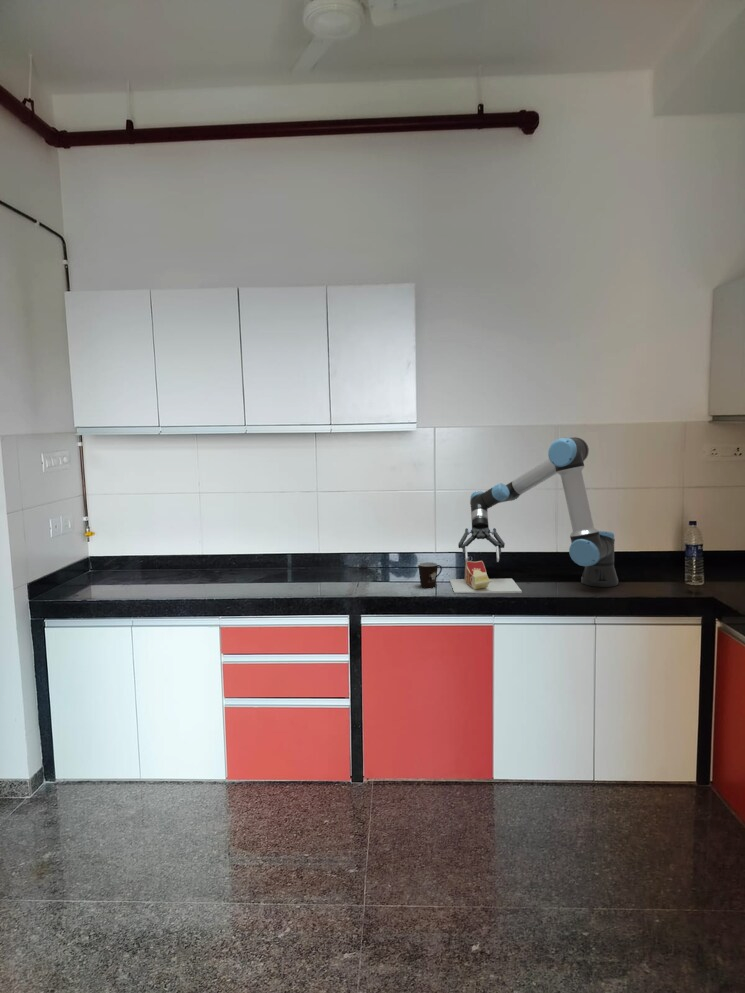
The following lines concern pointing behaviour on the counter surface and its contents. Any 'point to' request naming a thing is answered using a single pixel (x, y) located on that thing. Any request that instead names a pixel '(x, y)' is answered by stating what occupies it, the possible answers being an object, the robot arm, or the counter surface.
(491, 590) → the mat
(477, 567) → the milk carton
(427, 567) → the coffee mug
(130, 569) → the counter surface
